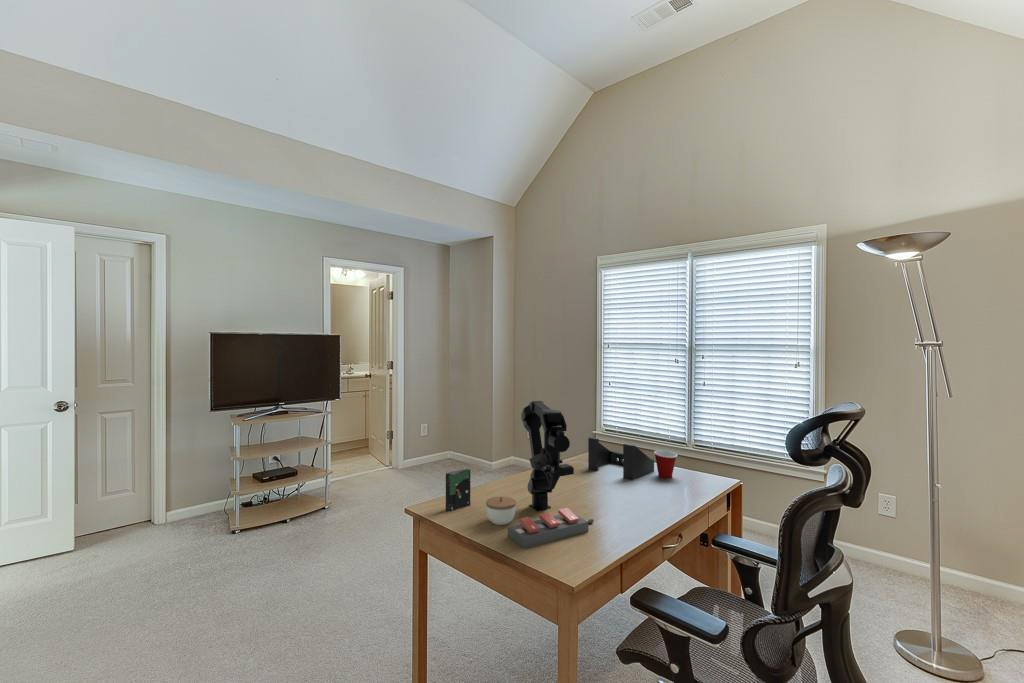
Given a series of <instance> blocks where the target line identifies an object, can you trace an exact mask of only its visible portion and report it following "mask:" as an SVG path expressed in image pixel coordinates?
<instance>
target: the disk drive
mask: <svg viewBox="0 0 1024 683" xmlns="http://www.w3.org/2000/svg"><path fill="white" fill-rule="evenodd" d="M466 506H467V507H470V506H471V469H469V468H463V469H458V470H454V471H449V472H446V473H445V511H446V510H447V511H446V512H448V511H450V512H453V511H456V509H457V510H460V509H462V508H466ZM459 508H460V509H459ZM452 510H453V511H452Z"/></svg>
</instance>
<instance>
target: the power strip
mask: <svg viewBox="0 0 1024 683" xmlns="http://www.w3.org/2000/svg"><path fill="white" fill-rule="evenodd" d="M575 515H576V516H577V517H578V518H579V521H578V522H574V523H569V522H568V521H567V520H566V519H564V518H563V517H562V516H561V515H560V514H558V515H552V516H553V517H554V518H555V519H556V520H557V521H559V522H560V525H559V526H557V527H553V528H550V527H549V526H548V525H547V524H546V523H544V522H543V521H542V520H541V519H540V518H539V519H536V520H532V521H533V522H534V523H535V524H536V525H537V526H538V527H539V528H540V530H539V531H538V532H534V533H529V532H528V531H527V530H526V529H525V528H524V527H523V526H522V525H521V524H520V523H519V524H515V525H511V526H508V527H507V537H508V538H509V539H510V540H512V541H513V542H514V543H515V544H516V545H518V546H519V547H521V548H522V549H524V550H525V549H528V548H531V547H535V546H540V545H543V544H546V543H550V542H555V541H558V540H561V539H566V538H568V537H573V536H577V535H581V534H583V533H588V532H589V524H592V523H594V519H593V518H590V519H584V518H583V517H581V516H579V515H577V514H575Z"/></svg>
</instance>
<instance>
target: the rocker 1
mask: <svg viewBox="0 0 1024 683" xmlns="http://www.w3.org/2000/svg"><path fill="white" fill-rule="evenodd" d="M533 521H534V520H533V519H532V518H531V517H530V516H528V515H527V516H524V517H521V518H519V519H518V522H519V524H521V525H522V526H523V527H524V528H525V529H526V530H527V531H528V532H529V533H534V532H538V531H539V530H540V528H539V527H538V526H537V525H536V524H535V523H534V522H533Z"/></svg>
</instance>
